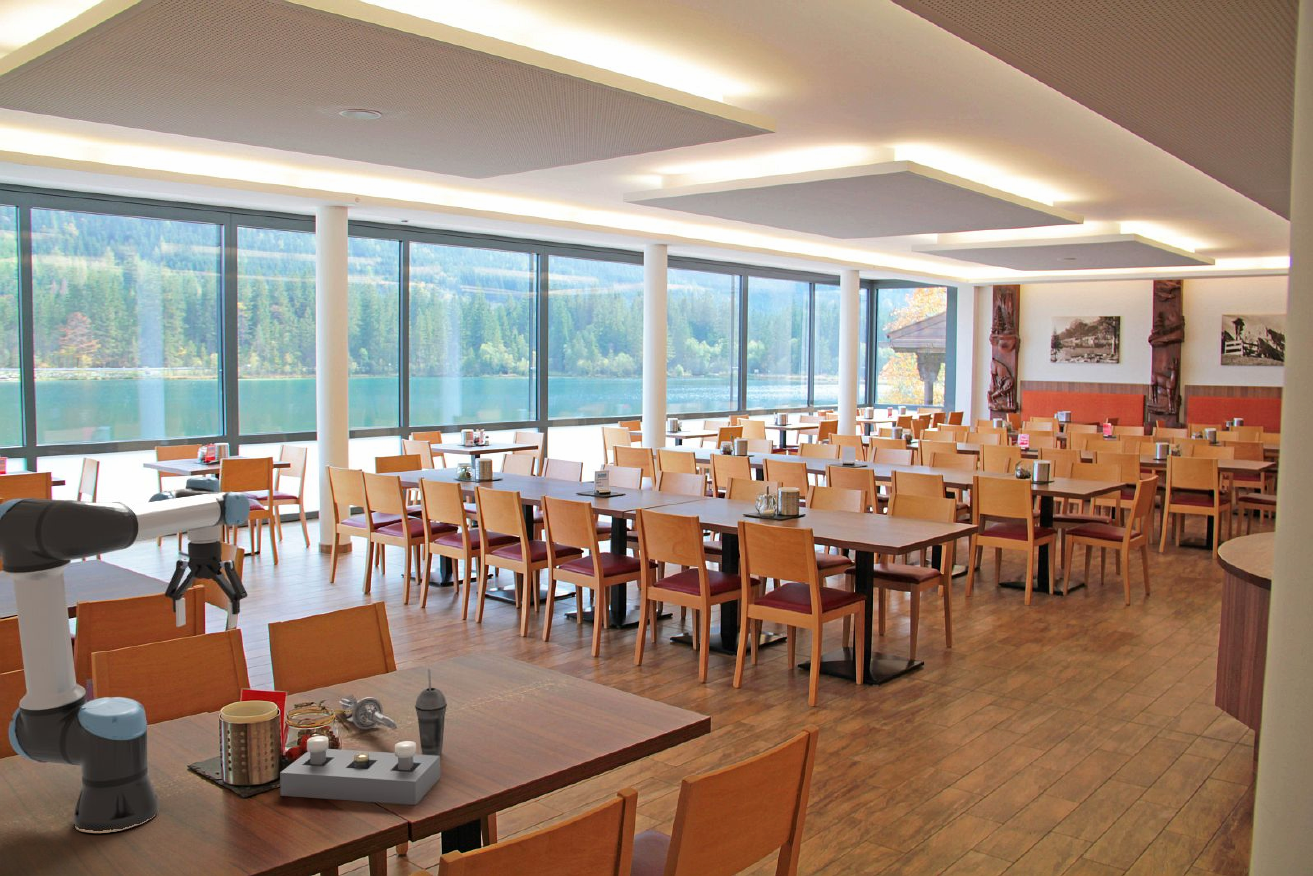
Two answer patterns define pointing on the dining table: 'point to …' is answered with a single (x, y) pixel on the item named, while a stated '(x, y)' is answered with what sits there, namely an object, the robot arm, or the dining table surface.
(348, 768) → the console
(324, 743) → the left knob
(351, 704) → the spaceship
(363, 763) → the pot knob
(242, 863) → the dining table surface
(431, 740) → the beverage cup
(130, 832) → the dining table surface
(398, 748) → the right knob
